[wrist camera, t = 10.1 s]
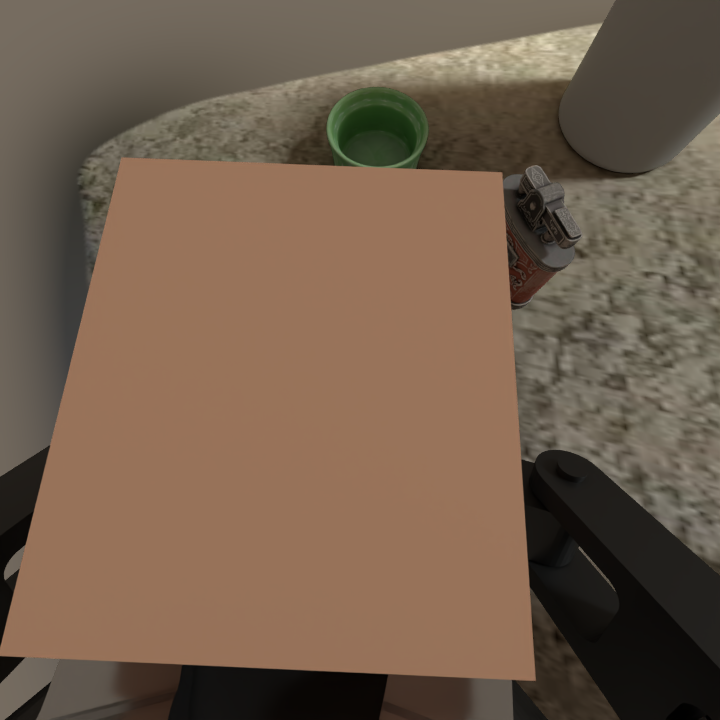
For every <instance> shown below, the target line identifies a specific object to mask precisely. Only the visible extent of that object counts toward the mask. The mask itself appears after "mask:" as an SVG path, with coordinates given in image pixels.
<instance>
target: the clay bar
mask: <svg viewBox="0 0 720 720" xmlns="http://www.w3.org/2000/svg"><path fill="white" fill-rule="evenodd" d="M0 656H11V657H33V658H55V659H76V660H97V661H118V662H140V663H161V664H183V665H204V666H225V667H247V668H268V669H290V670H311V671H332V672H354V673H375V674H397V675H418V676H439V677H461V678H482V679H504V680H525V681H536V677H535V662H534V647H533V632H532V616H531V601H530V586H529V571H528V556H527V541H526V526H525V510H524V495H523V480H522V465H521V450H520V435H519V420H518V404H517V389H516V374H515V359H514V344H513V329H512V314H511V298H510V283H509V268H508V253H507V238H506V223H505V208H504V192H503V177H502V172H481V171H455V170H429V169H403V168H377V167H351V166H326V165H300V164H274V163H248V162H222V161H196V160H170V159H144V158H121V162H120V166H119V170H118V174H117V178H116V182H115V187H114V191H113V195H112V199H111V203H110V207H109V211H108V215H107V219H106V223H105V227H104V231H103V235H102V239H101V243H100V247H99V251H98V255H97V259H96V263H95V267H94V271H93V275H92V279H91V283H90V287H89V291H88V295H87V300H86V304H85V308H84V312H83V316H82V320H81V324H80V328H79V332H78V336H77V340H76V344H75V348H74V352H73V356H72V360H71V364H70V368H69V372H68V376H67V380H66V385H65V388H64V393H63V397H62V400H61V405H60V409H59V413H58V417H57V421H56V425H55V429H54V433H53V437H52V441H51V445H50V449H49V453H48V457H47V461H46V465H45V469H44V473H43V477H42V481H41V485H40V489H39V493H38V497H37V501H36V505H35V509H34V513H33V517H32V522H31V526H30V530H29V534H28V538H27V542H26V546H25V550H24V554H23V558H22V562H21V566H20V570H19V574H18V578H17V582H16V586H15V590H14V594H13V598H12V602H11V606H10V610H9V614H8V618H7V622H6V626H5V631H4V635H3V639H2V643H1V647H0Z"/></svg>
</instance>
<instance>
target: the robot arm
mask: <svg viewBox="0 0 720 720" xmlns="http://www.w3.org/2000/svg"><path fill="white" fill-rule="evenodd" d="M49 449H50V446H48V447H47V448H45V449H43V450H42V451H40V452H39V453H37V454H36V455H34V456H33V457H31V458H29V459H28V460H26V461H24V462H23V463H21V464H20V465H18V466H17V467H15V468H13V469H12V470H10V471H9V472H7V473H6V474H4V475H2V476H1V477H0V647H1V643H2V639H3V635H4V631H5V626H6V622H7V618H8V614H9V610H10V606H11V602H12V598H13V594H14V590H15V586H16V582H17V578H18V574H19V570H20V569H19V570H17V571H16V572H15V573H14V574H13V575H11V576H10V577H9V578H8V579H7V580H5V579H4V570H5V567H6V565H7V563H8V562H9V560H10V559H11V558H12V556H13V555H14V554H15V553H16V552H17V551H18V550H20V549H21V548H22V547H23V546H24V545H26V542H27V538H28V534H29V530H30V526H31V522H32V517H33V513H34V509H35V505H36V501H37V497H38V493H39V489H40V485H41V481H42V477H43V473H44V469H45V465H46V461H47V457H48V453H49ZM521 465H522V480H523V495H524V510H525V526H526V541H527V556H528V571H529V586H530V588H531V589H532V590H533V592H534V593H535V595H536V596H537V598H538V599H539V601H540V602H541V604H542V605H543V607H544V608H545V610H546V611H547V612H548V614H549V615H550V617H551V618H552V620H553V621H554V623H555V624H556V626H557V627H558V629H559V630H560V632H561V633H562V634H563V636H564V637H565V639H566V640H567V642H568V643H569V645H570V646H571V648H572V649H573V651H574V652H575V654H576V655H577V656H578V658H579V659H580V661H581V662H582V664H583V665H584V667H585V668H586V670H587V671H588V673H589V674H590V675H591V677H592V678H593V680H594V681H595V683H596V684H597V686H598V687H599V689H600V690H601V692H602V693H603V695H604V696H605V697H606V699H607V700H608V702H609V703H610V705H611V706H612V708H613V709H614V711H615V712H616V714H617V715H618V717H619V718H620V719H621V720H720V576H719V575H718V574H717V573H716V572H715V571H714V570H713V569H712V568H710V567H709V566H708V565H707V564H706V563H705V562H704V561H702V560H701V559H700V558H699V557H698V556H697V555H696V554H695V553H693V552H692V551H691V550H690V549H689V548H688V547H687V546H686V545H684V544H683V543H682V542H681V541H680V540H679V539H678V538H677V537H675V536H674V535H673V534H672V533H671V532H670V531H669V530H667V529H666V528H665V527H664V526H663V525H662V524H661V523H660V522H658V521H657V520H656V519H655V518H654V517H653V516H652V515H651V514H649V513H648V512H647V511H646V510H645V509H644V508H643V507H642V506H640V505H639V504H638V503H637V502H636V501H635V500H634V499H633V498H631V497H630V496H629V495H628V494H627V493H626V492H625V491H623V490H622V489H621V488H620V487H619V486H618V485H617V484H616V483H614V482H613V481H612V480H611V479H610V478H609V477H608V476H607V475H605V474H604V473H603V472H602V471H601V470H600V469H599V468H598V467H596V466H595V465H594V464H593V463H591V462H590V461H588V460H587V459H585V458H583V457H581V456H579V455H577V454H574V453H571V452H567V451H563V450H548V451H545V452H542V453H541V454H539V455H538V457H537V458H536V461H535V463H532V462H529V461H525V460H521ZM579 546H580V547H581V548H582V549H583V551H584V552H585V553H586V554H587V555H588V556H589V557H590V559H591V560H592V561H593V562H594V563H595V564H596V566H597V567H598V568H599V569H600V570H601V571H602V572H603V574H604V575H605V576H606V577H607V578H608V579H609V581H610V582H611V583H612V585H613V587H614V588H615V590H616V592H615V591H614V589H613V588H612V587H611V586H610V585H609V584H608V583H607V581H606V580H605V579H604V578H603V577H602V576H601V574H600V573H599V572H598V571H597V570H596V569H595V567H594V566H593V565H592V564H591V563H590V562H589V560H588V559H587V558H586V557H585V556H584V555H583V553H582V552H581V551H580V550H579V549H578V547H579ZM24 658H25V657H11V656H0V683H1V682H2V681H3V680H4V679H5V678H6V677H7V676H8V675H9V674H10V673H11V672H12V671H13V670H14V669H15V668H16V667H17V666H18V664H19V663H20V662H21V661H22V660H23V659H24ZM5 720H548V719H547V718H546V717H545V716H544V715H543V713H542V712H541V711H540V710H539V709H538V707H537V706H536V705H535V704H534V703H533V701H532V700H531V699H530V698H529V697H528V696H527V694H526V693H525V692H524V691H523V690H522V688H521V687H520V686H519V685H518V684H517V682H516V681H515V680H504V679H482V678H461V677H439V676H418V675H397V674H375V673H354V672H332V671H311V670H290V669H268V668H247V667H225V666H204V665H183V664H161V663H140V662H118V661H97V660H76V659H60V660H59V663H58V665H57V668H56V671H55V673H54V676H53V679H52V681H51V682H50V683H49V684H48V685H46V686H45V687H44V688H43V689H42V690H40V691H39V692H38V693H37V694H36V695H34V696H33V697H32V698H31V699H29V700H28V701H27V702H26V703H25V704H23V705H22V706H21V707H20V708H18V709H17V710H16V711H15V712H14V713H12V714H11V715H10V716H9V717H8V718H6V719H5Z"/></svg>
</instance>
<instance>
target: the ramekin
mask: <svg viewBox="0 0 720 720" xmlns="http://www.w3.org/2000/svg"><path fill="white" fill-rule="evenodd" d="M326 132H327V138H328V141H329V145H330V147H331V150H332V155H333V160H334V164H335V166H351V167H377V168H403V169H416V168H417V164H418V161H419V158H420V155H421V153H422V151H423V149H424V147H425V145H426V142H427V139H428V133H429V126H428V121H427V117H426V115H425V113H424V111H423V110H422V108H421V107H420V106H419V104H418V103H417V102H416V101H414V100H413V99H412V98H411V97H409V96H407V95H406V94H404V93H402V92H399V91H397V90H394V89H390V88H385V87H368V88H362V89H359V90H356V91H353V92H351V93H349V94H347V95H346V96H344V97H343V98H341V99H340V100H339V101H338V102H337V103H336V104H335V106H334V107H333V108H332V110H331V112H330V114H329V116H328V119H327V125H326Z"/></svg>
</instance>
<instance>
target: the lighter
mask: <svg viewBox="0 0 720 720" xmlns="http://www.w3.org/2000/svg"><path fill="white" fill-rule="evenodd" d="M503 192H504V208H505V223H506V238H507V253H508V268H509V283H510V298H511V309H520V308H522V307H524V306H526V305H527V304H528V303H529V302H530V301H531V299H532V298H533V295H534V294H535V293H536V292H537V291H538V290H539V289H540V288H541V287H542V286H543V285H544V284H545V283H546V282H547V281H548V280H549V279H550V278H551V277H553V276H554V275H555V274H556V273H557V272H558V271H561V270H563V269H564V268H565V267H567V266H568V265H569V264H570V263H571V261H572V260H573V259H574V256H575V249H574V245H575V244H576V243H577V242H578V241H579V240H580V239H581V237H582V232H581V230H580V228H579V226H578V225H577V223H576V222H575V220H574V218H573V217H572V215H571V214H570V212H569V210H568V209H567V207H566V206H565V205H564V189H563V188H562V186H561V185H560V184H559V183H551V182H550V181H549V179H548V178H547V176H546V174H545V173H544V171H543V170H542V168H541V167H539V166H537V165H534V166H531V167H529V168H527V169H526V171H525V172H524V174H523V175H522V174H514V175H510V176H508V177H506V178H505V179H504V180H503Z"/></svg>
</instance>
